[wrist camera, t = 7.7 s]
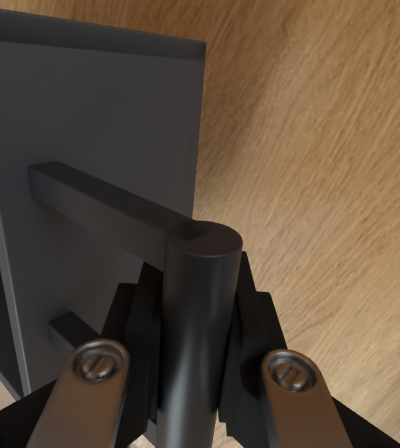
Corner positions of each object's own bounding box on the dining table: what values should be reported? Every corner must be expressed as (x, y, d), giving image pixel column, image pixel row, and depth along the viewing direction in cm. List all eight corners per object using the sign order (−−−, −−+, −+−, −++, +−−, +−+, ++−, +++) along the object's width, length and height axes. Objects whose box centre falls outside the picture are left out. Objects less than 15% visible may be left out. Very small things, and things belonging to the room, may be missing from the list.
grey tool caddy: (79, 254, 27) (-57, 305, 20) (63, 34, 21) (-141, 9, 14) (295, 398, 17) (159, 592, 10) (396, 51, 10) (206, -15, 4)
